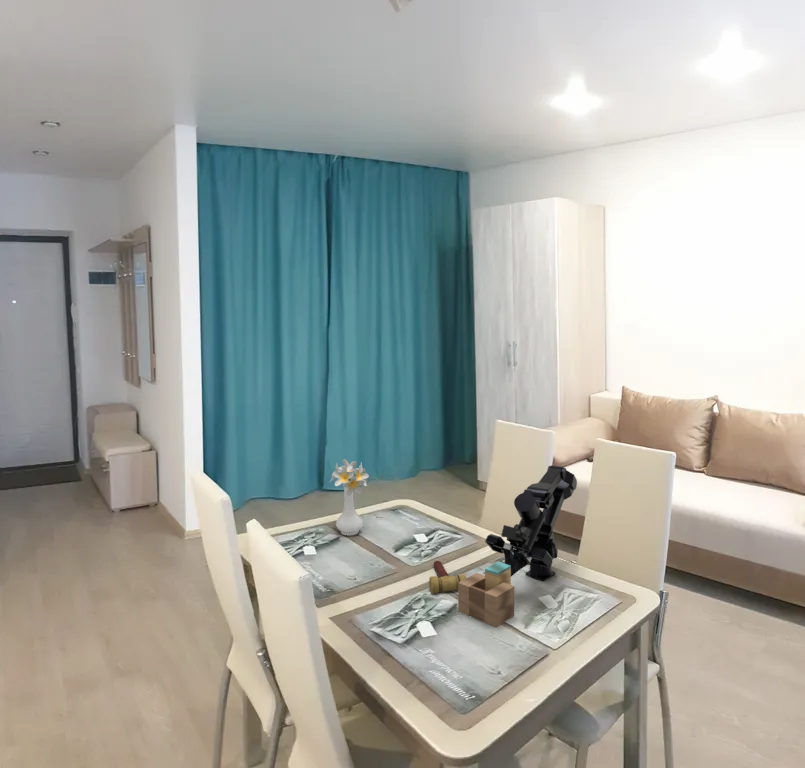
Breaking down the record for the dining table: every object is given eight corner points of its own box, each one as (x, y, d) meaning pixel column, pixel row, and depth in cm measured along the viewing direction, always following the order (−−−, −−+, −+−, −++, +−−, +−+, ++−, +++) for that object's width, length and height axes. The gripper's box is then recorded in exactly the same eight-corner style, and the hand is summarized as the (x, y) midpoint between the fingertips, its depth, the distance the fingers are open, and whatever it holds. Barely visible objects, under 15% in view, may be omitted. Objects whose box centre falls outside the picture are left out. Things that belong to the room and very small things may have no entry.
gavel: (419, 555, 204) (451, 552, 205) (420, 569, 205) (451, 567, 206) (431, 580, 183) (467, 577, 185) (432, 596, 184) (467, 593, 185)
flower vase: (343, 545, 220) (341, 472, 217) (324, 528, 237) (322, 459, 233) (379, 538, 226) (378, 466, 222) (358, 521, 242) (356, 454, 239)
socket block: (476, 600, 180) (476, 572, 179) (514, 615, 172) (514, 586, 171) (458, 611, 174) (458, 582, 173) (496, 627, 166) (496, 596, 165)
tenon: (498, 599, 180) (498, 561, 179) (510, 604, 178) (510, 565, 176) (484, 607, 176) (485, 568, 174) (497, 612, 173) (497, 572, 172)
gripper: (489, 506, 186) (464, 555, 179) (547, 521, 173) (523, 574, 167) (504, 525, 193) (482, 574, 186) (562, 541, 180) (540, 593, 174)
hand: (505, 578), depth 178 cm, fingers closed, pressing on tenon
